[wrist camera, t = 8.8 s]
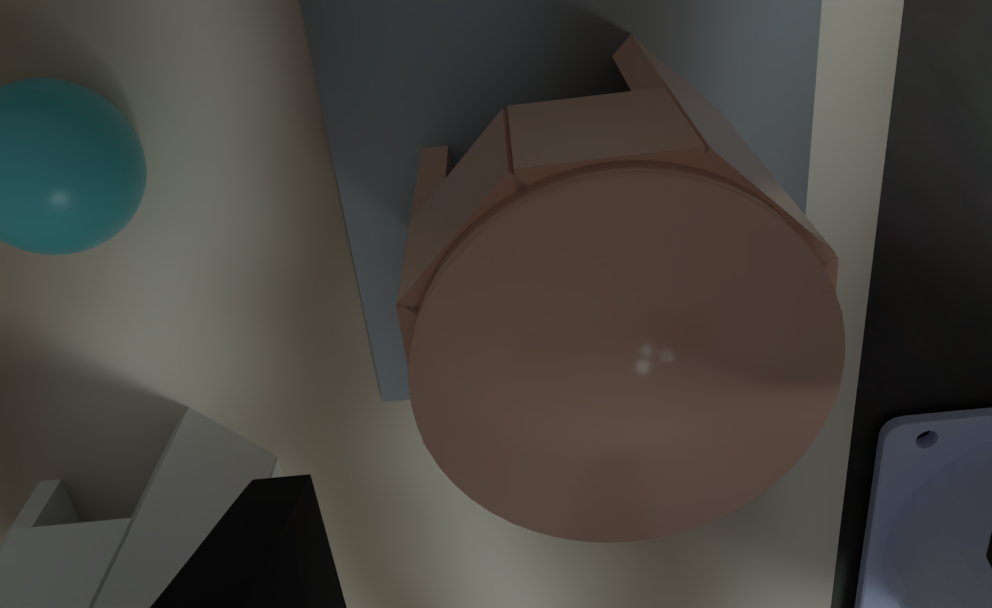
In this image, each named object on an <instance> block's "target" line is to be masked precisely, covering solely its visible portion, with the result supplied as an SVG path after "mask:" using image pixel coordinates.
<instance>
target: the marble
mask: <svg viewBox="0 0 992 608" xmlns="http://www.w3.org/2000/svg"><path fill="white" fill-rule="evenodd" d="M146 177H147V168H146V158H145V154H144V150H143V147H142V144H141V142H140V139H139V137H138V135H137V133H136V131H135V129H134V128H133V126H132V125H131V123H130V122H129V120H128V119H127V118H126V117H125V115H124V114H123V113H122V112H121V111H120V110H119V109H118V108H117V107H116V106H115V105H114V104H113V103H111V102H110V101H109V100H107V99H106V98H105V97H103V96H102V95H100V94H98V93H97V92H95V91H93V90H91V89H89V88H87V87H85V86H82V85H80V84H77V83H74V82H71V81H66V80H61V79H55V78H29V79H22V80H17V81H13V82H10V83H7V84H4V85H2V86H0V241H2V242H4V243H6V244H8V245H10V246H13V247H15V248H18V249H21V250H24V251H28V252H31V253H37V254H44V255H67V254H73V253H78V252H82V251H86V250H89V249H92V248H94V247H97V246H99V245H101V244H103V243H105V242H106V241H108V240H109V239H111V238H112V237H114V236H115V235H116V234H118V233H119V232H120V231H121V230H122V229H123V228H124V227H125V226H126V225H127V224H128V223H129V221H130V220H131V219H132V218H133V216H134V214H135V213H136V211H137V209H138V207H139V206H140V203H141V200H142V198H143V195H144V191H145V186H146Z"/></svg>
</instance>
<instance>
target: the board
mask: <svg viewBox="0 0 992 608" xmlns="http://www.w3.org/2000/svg"><path fill="white" fill-rule="evenodd" d="M903 5H904V0H0V86H2V85H4V84H7V83H10V82H13V81H17V80H22V79H29V78H55V79H61V80H66V81H71V82H74V83H77V84H80V85H82V86H85V87H87V88H89V89H91V90H93V91H95V92H97V93H98V94H100V95H102V96H103V97H105V98H106V99H107V100H109V101H110V102H111V103H113V104H114V105H115V106H116V107H117V108H118V109H119V110H120V111H121V112H122V113H123V114H124V115H125V117H126V118H127V119H128V120H129V122H130V123H131V125H132V126H133V128H134V129H135V131H136V133H137V135H138V137H139V139H140V142H141V144H142V147H143V150H144V154H145V158H146V168H147V177H146V186H145V191H144V195H143V198H142V200H141V203H140V206H139V207H138V209H137V211H136V213H135V214H134V216H133V218H132V219H131V220H130V221H129V223H128V224H127V225H126V226H125V227H124V228H123V229H122V230H121V231H120V232H119V233H118V234H116V235H115V236H114V237H112V238H111V239H109V240H108V241H106V242H105V243H103V244H101V245H99V246H97V247H94V248H92V249H89V250H86V251H82V252H78V253H73V254H67V255H44V254H37V253H31V252H28V251H24V250H21V249H18V248H15V247H13V246H10V245H8V244H6V243H4V242H2V241H0V543H1V541H2V539H3V538H4V536H5V535H6V533H7V532H8V530H9V529H10V527H11V526H12V524H13V523H14V521H15V519H16V518H17V516H18V515H19V513H20V512H21V510H22V509H23V507H24V506H25V504H26V503H27V501H28V499H29V498H30V496H31V495H32V493H33V492H34V490H35V489H36V487H37V486H38V484H39V483H40V481H46V480H57V479H62V481H63V484H64V486H65V488H66V490H67V492H68V495H69V497H70V499H71V501H72V503H73V505H74V508H75V510H76V512H77V514H78V516H79V519H80V521H81V523H83V522H93V521H104V520H114V519H125V518H131V517H132V515H133V513H134V511H135V509H136V506H137V504H138V502H139V500H140V498H141V496H142V494H143V492H144V490H145V488H146V486H147V484H148V482H149V480H150V478H151V476H152V474H153V472H154V470H155V468H156V465H157V463H158V461H159V459H160V457H161V455H162V453H163V451H164V449H165V447H166V445H167V443H168V441H169V439H170V437H171V435H172V433H173V431H174V429H175V427H176V425H177V422H178V421H179V420H180V418H181V417H182V416H183V414H184V413H185V412H186V411H187V409H188V408H189V407H190V408H191V409H193V410H195V411H197V412H199V413H200V414H202V415H204V416H206V417H207V418H209V419H211V420H213V421H214V422H216V423H218V424H220V425H222V426H223V427H225V428H227V429H229V430H230V431H232V432H234V433H236V434H238V435H239V436H241V437H243V438H245V439H246V440H248V441H250V442H252V443H254V444H255V445H257V446H259V447H261V448H262V449H264V450H266V451H268V452H270V453H271V454H273V455H275V456H276V457H275V458H278V461H279V464H280V468H281V471H282V475H283V477H285V476H296V475H306V474H311V478H312V482H313V485H314V489H315V493H316V497H317V500H318V504H319V508H320V511H321V515H322V519H323V522H324V526H325V530H326V533H327V537H328V541H329V544H330V548H331V552H332V556H333V559H334V563H335V567H336V570H337V574H338V578H339V581H340V585H341V589H342V592H343V596H344V600H345V603H346V607H347V608H831V599H832V591H833V583H834V575H835V566H836V558H837V550H838V542H839V533H840V525H841V517H842V509H843V500H844V492H845V484H846V475H847V467H848V459H849V451H850V442H851V434H852V426H853V418H854V409H855V401H856V393H857V385H858V376H859V368H860V360H861V352H862V343H863V335H864V327H865V318H866V310H867V302H868V294H869V285H870V277H871V269H872V261H873V252H874V244H875V236H876V228H877V219H878V211H879V203H880V195H881V186H882V178H883V170H884V161H885V153H886V145H887V137H888V128H889V120H890V112H891V104H892V95H893V87H894V79H895V71H896V62H897V54H898V46H899V38H900V29H901V21H902V13H903ZM630 34H632V35H633V36H634V37H635V38H636V39H638V40H639V41H640V42H641V43H642V44H643V45H645V46H646V47H647V48H648V49H649V50H650V51H651V52H653V53H654V54H655V55H656V56H657V57H658V58H660V59H661V60H662V61H663V62H664V63H665V64H667V65H668V66H669V67H670V68H671V69H672V70H673V71H675V72H676V73H677V74H678V75H679V76H680V77H682V78H683V79H684V80H685V81H686V82H687V83H688V84H690V85H691V86H692V87H693V88H694V89H695V90H697V91H698V92H699V93H700V94H701V95H702V96H703V97H705V98H706V99H707V100H708V101H709V102H710V103H712V104H713V105H714V106H715V107H716V108H717V109H718V110H720V112H721V113H722V114H723V115H724V116H725V118H726V119H727V120H728V121H729V123H730V124H731V125H732V126H733V127H734V129H735V130H736V131H737V132H738V134H739V135H740V136H741V137H742V139H743V140H744V141H745V142H746V143H747V145H748V146H749V147H750V148H751V150H752V151H753V152H754V153H755V154H756V156H757V157H758V158H759V159H760V161H761V162H762V163H763V164H764V166H765V167H766V168H767V169H768V170H769V172H770V173H771V174H772V175H773V177H774V178H775V179H776V180H777V181H778V183H779V184H780V185H781V186H782V188H783V189H784V190H785V191H786V193H787V194H788V195H789V196H790V197H791V199H792V200H793V201H794V202H795V204H796V205H797V206H798V207H799V208H800V210H801V211H802V212H803V213H804V215H805V216H806V217H807V218H808V220H809V221H810V222H811V223H812V224H813V226H814V227H815V228H816V229H817V231H818V232H819V233H820V234H821V235H822V237H823V238H824V239H825V240H826V242H827V243H828V244H829V245H830V247H831V248H832V249H833V250H834V251H835V253H836V254H837V255H836V256H837V257H838V259H839V262H838V273H837V284H836V295H837V298H838V301H839V304H840V307H841V311H842V316H843V323H844V330H845V362H844V368H843V374H842V379H841V384H840V387H839V390H838V393H837V396H836V399H835V402H834V405H833V408H832V410H831V412H830V414H829V416H828V418H827V420H826V422H825V424H824V426H823V428H822V429H821V431H820V432H819V434H818V435H817V437H816V438H815V440H814V441H813V443H812V444H811V446H810V447H809V449H808V450H807V451H806V452H805V453H804V454H803V456H802V457H801V458H800V459H799V460H798V461H797V463H796V464H795V465H794V466H793V467H792V468H791V469H790V470H789V471H788V472H787V473H786V474H785V475H784V476H782V477H781V478H780V479H779V480H778V481H777V482H776V483H775V484H774V485H772V486H771V487H770V488H768V489H767V490H766V491H764V492H763V493H762V494H760V495H759V496H757V497H756V498H755V499H753V500H752V501H750V502H748V503H747V504H745V505H743V506H742V507H740V508H738V509H736V510H735V511H733V512H731V513H729V514H727V515H725V516H723V517H721V518H718V519H716V520H714V521H712V522H710V523H707V524H705V525H702V526H699V527H696V528H693V529H690V530H687V531H684V532H681V533H677V534H672V535H668V536H664V537H660V538H654V539H647V540H640V541H634V542H613V543H603V542H583V541H576V540H569V539H562V538H557V537H553V536H549V535H545V534H541V533H537V532H534V531H531V530H529V529H526V528H523V527H520V526H518V525H515V524H512V523H510V522H508V521H506V520H505V519H503V518H501V517H499V516H497V515H495V514H493V513H491V512H489V511H488V510H486V509H485V508H483V507H482V506H480V505H479V504H477V503H476V502H474V501H473V500H471V499H470V498H469V497H468V496H467V495H466V494H465V493H463V492H462V491H461V490H460V489H459V488H458V487H457V486H455V485H454V484H453V482H452V481H451V480H450V479H449V478H448V477H447V476H446V474H445V473H444V472H443V471H442V470H441V469H440V468H439V466H438V465H437V463H436V462H435V460H434V459H433V457H432V455H431V454H430V452H429V451H428V449H426V445H423V442H422V437H421V435H420V432H419V430H418V428H417V425H416V421H415V418H414V414H413V410H412V407H411V400H410V392H409V383H408V379H409V370H408V365H407V360H406V355H405V350H404V344H403V339H402V334H401V329H400V324H399V319H398V314H397V309H396V305H397V299H398V293H399V287H400V280H401V274H402V268H403V262H404V255H405V249H406V243H407V237H408V231H409V224H410V218H411V212H412V206H413V199H414V193H415V187H416V181H417V174H418V168H419V162H420V156H421V150H422V149H423V148H432V147H440V146H448V148H449V155H450V162H451V169H452V170H453V169H454V167H455V166H456V165H457V164H458V162H459V161H460V160H461V159H462V157H463V156H464V155H465V154H466V153H467V151H468V150H469V149H470V148H471V146H472V145H473V144H474V143H475V141H476V140H477V139H478V138H479V137H480V135H481V134H482V133H483V132H484V130H485V129H486V128H487V127H488V125H489V124H490V123H491V122H492V121H493V119H494V118H495V117H496V116H497V114H498V113H499V112H500V111H501V109H502V108H503V109H504V110H505V111H507V112H508V110H507V106H509V105H518V104H526V103H535V102H543V101H552V100H560V99H569V98H577V97H586V96H594V95H603V94H612V93H620V92H629V91H631V90H630V88H629V86H628V84H627V82H626V81H625V79H624V77H623V75H622V73H621V72H620V70H619V68H618V66H617V64H616V63H615V61H614V59H613V57H612V56H613V54H614V53H615V52H616V51H617V50H618V48H619V47H620V46H621V45H622V44H623V43H624V41H625V40H626V39H627V38H628V37H629V36H630Z"/></svg>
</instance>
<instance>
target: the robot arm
mask: <svg viewBox="0 0 992 608" xmlns="http://www.w3.org/2000/svg"><path fill="white" fill-rule="evenodd" d="M926 431H929V433H928V434H926V435H925V436H924V437H920V438H917V437H918V436H919V435H920V434H921V433H923V432H926ZM150 608H347V607H346V603H345V600H344V596H343V592H342V589H341V585H340V581H339V578H338V574H337V570H336V567H335V563H334V559H333V556H332V552H331V548H330V544H329V541H328V537H327V533H326V530H325V526H324V522H323V519H322V515H321V511H320V508H319V504H318V500H317V497H316V493H315V489H314V485H313V482H312V478H311V474H306V475H296V476H285V477H274V478H264V479H253V480H252V481H251V482H250V483H249V484H248V485H247V487H246V488H245V489H244V490H243V491H242V493H241V494H240V495H239V496H238V498H237V499H236V500H235V501H234V502H233V504H232V505H231V506H230V507H229V509H228V510H227V511H226V512H225V514H224V515H223V516H222V518H221V519H220V520H219V521H218V523H217V524H216V525H215V526H214V528H213V529H212V530H211V531H210V533H209V534H208V535H207V537H206V538H205V539H204V540H203V542H202V543H201V544H200V545H199V547H198V548H197V549H196V551H195V552H194V553H193V554H192V556H191V557H190V558H189V559H188V561H187V562H186V563H185V564H184V566H183V567H182V568H181V569H180V571H179V572H178V573H177V575H176V576H175V577H174V578H173V580H172V581H171V582H170V583H169V585H168V586H167V587H166V588H165V590H164V591H163V592H162V593H161V594H160V596H159V597H158V598H157V599H156V600H155V602H154V603H153V604H152V605H151V606H150ZM854 608H992V407H991V408H980V409H970V410H959V411H949V412H939V413H928V414H918V415H907V416H900V417H896V418H893V419H891V420H890V421H888V422H886V423H885V425H884V426H883V427H882V428H881V430H880V433H879V436H878V443H877V450H876V458H875V465H874V472H873V479H872V486H871V493H870V500H869V507H868V514H867V522H866V529H865V536H864V543H863V550H862V557H861V564H860V571H859V579H858V586H857V593H856V600H855V607H854Z"/></svg>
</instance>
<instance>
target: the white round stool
mask: <svg viewBox="0 0 992 608" xmlns="http://www.w3.org/2000/svg"><path fill="white" fill-rule="evenodd" d="M275 457H276V456H275V455H273V454H271V453H270V452H268V451H266V450H264V449H262V448H261V447H259V446H257V445H255V444H254V443H252V442H250V441H248V440H246V439H245V438H243V437H241V436H239V435H238V434H236V433H234V432H232V431H230V430H229V429H227V428H225V427H223V426H222V425H220V424H218V423H216V422H214V421H213V420H211V419H209V418H207V417H206V416H204V415H202V414H200V413H199V412H197V411H195V410H193V409H191V408H190V407H189V408H188V409H187V411H186V412H185V413H184V414H183V416H182V417H181V418H180V420H179V421H178V422H177V425H176V427H175V429H174V431H173V433H172V435H171V437H170V439H169V441H168V443H167V445H166V447H165V449H164V451H163V453H162V455H161V457H160V459H159V461H158V463H157V465H156V468H155V470H154V472H153V474H152V476H151V478H150V480H149V482H148V484H147V486H146V488H145V490H144V492H143V494H142V496H141V498H140V500H139V502H138V504H137V506H136V509H135V511H134V513H133V515H132V517H131V518H125V519H114V520H104V521H93V522H83V523H81V521H80V519H79V516H78V514H77V512H76V510H75V508H74V505H73V503H72V501H71V499H70V497H69V495H68V492H67V490H66V488H65V486H64V484H63V481H62V479H57V480H46V481H40V483H39V484H38V486H37V487H36V489H35V490H34V492H33V493H32V495H31V496H30V498H29V499H28V501H27V503H26V504H25V506H24V507H23V509H22V510H21V512H20V513H19V515H18V516H17V518H16V519H15V521H14V523H13V524H12V526H11V527H10V529H9V530H8V532H7V533H6V535H5V536H4V538H3V539H2V541H1V543H0V608H150V606H151V605H152V604H153V603H154V602H155V600H156V599H157V598H158V597H159V596H160V594H161V593H162V592H163V591H164V590H165V588H166V587H167V586H168V585H169V583H170V582H171V581H172V580H173V578H174V577H175V576H176V575H177V573H178V572H179V571H180V569H181V568H182V567H183V566H184V564H185V563H186V562H187V561H188V559H189V558H190V557H191V556H192V554H193V553H194V552H195V551H196V549H197V548H198V547H199V545H200V544H201V543H202V542H203V540H204V539H205V538H206V537H207V535H208V534H209V533H210V531H211V530H212V529H213V528H214V526H215V525H216V524H217V523H218V521H219V520H220V519H221V518H222V516H223V515H224V514H225V512H226V511H227V510H228V509H229V507H230V506H231V505H232V504H233V502H234V501H235V500H236V499H237V498H238V496H239V495H240V494H241V493H242V491H243V490H244V489H245V488H246V487H247V485H248V484H249V483H250V482H251V481H252V480H253V479H264V478H274V477H283V475H282V471H281V468H280V464H279V461H278V458H275Z"/></svg>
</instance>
